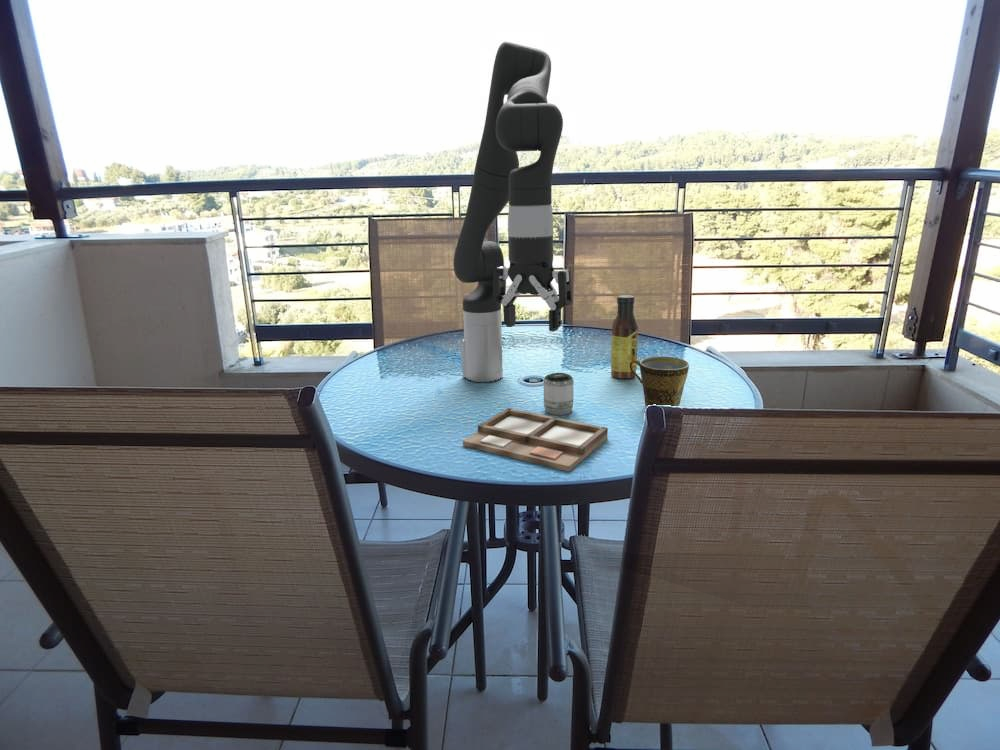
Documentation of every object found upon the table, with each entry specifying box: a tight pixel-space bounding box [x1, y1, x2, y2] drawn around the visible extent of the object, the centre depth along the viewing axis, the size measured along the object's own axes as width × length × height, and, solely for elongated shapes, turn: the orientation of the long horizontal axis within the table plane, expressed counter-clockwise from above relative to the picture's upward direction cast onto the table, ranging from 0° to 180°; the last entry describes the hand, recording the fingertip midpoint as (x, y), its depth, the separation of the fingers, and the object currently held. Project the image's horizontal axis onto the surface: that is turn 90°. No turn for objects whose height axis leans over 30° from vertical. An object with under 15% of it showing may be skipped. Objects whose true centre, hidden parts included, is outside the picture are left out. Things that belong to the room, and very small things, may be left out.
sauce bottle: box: [610, 294, 639, 380], centre depth 151 cm, size 7×6×20 cm
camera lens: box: [543, 372, 575, 416], centre depth 131 cm, size 6×6×8 cm
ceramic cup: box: [630, 355, 690, 407], centre depth 132 cm, size 13×10×10 cm
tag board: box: [462, 407, 609, 473], centre depth 117 cm, size 22×16×2 cm
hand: (531, 328), depth 109 cm, fingers open, 8 cm apart
